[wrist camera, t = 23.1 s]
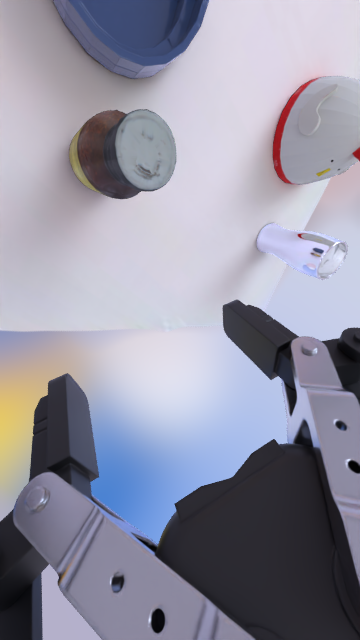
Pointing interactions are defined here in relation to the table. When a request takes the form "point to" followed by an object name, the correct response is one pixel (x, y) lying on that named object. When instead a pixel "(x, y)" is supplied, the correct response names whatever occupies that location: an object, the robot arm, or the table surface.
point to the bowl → (133, 31)
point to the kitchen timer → (318, 131)
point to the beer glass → (303, 250)
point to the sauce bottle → (123, 153)
